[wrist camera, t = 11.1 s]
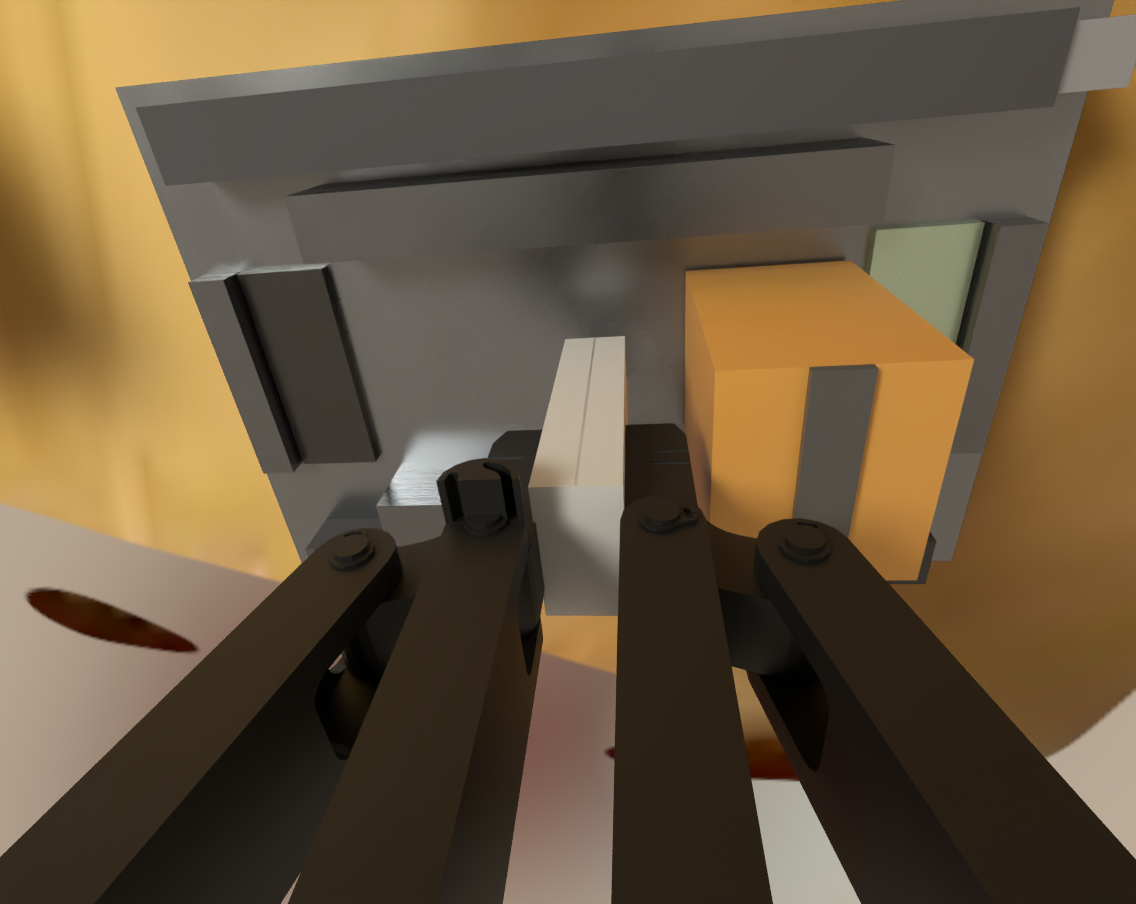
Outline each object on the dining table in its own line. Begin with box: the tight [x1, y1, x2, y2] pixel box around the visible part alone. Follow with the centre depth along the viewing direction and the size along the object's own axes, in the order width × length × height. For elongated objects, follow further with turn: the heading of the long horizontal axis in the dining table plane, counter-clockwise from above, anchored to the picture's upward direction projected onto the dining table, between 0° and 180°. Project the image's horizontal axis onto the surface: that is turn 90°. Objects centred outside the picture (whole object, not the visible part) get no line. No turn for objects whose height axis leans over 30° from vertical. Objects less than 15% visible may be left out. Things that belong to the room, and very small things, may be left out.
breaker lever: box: [684, 260, 974, 580], centre depth 14 cm, size 5×4×7 cm
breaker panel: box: [116, 0, 1114, 563], centre depth 18 cm, size 15×22×4 cm
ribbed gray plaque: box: [136, 7, 1136, 584], centre depth 17 cm, size 14×20×2 cm
